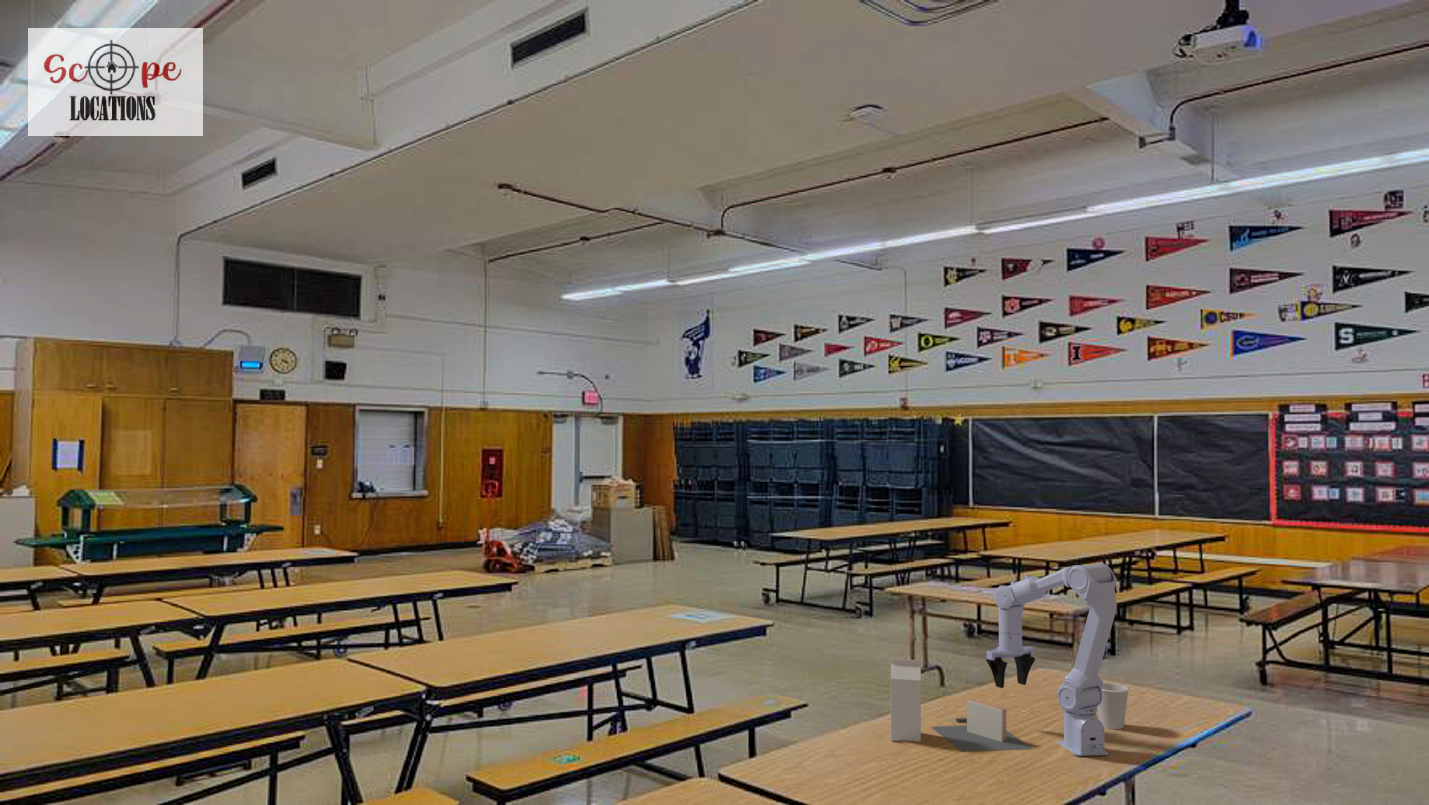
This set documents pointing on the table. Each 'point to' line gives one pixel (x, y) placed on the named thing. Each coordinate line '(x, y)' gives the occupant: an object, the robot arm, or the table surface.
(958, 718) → the turner
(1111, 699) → the dixie cup
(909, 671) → the milk carton
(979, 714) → the tile
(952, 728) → the mat
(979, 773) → the table surface
